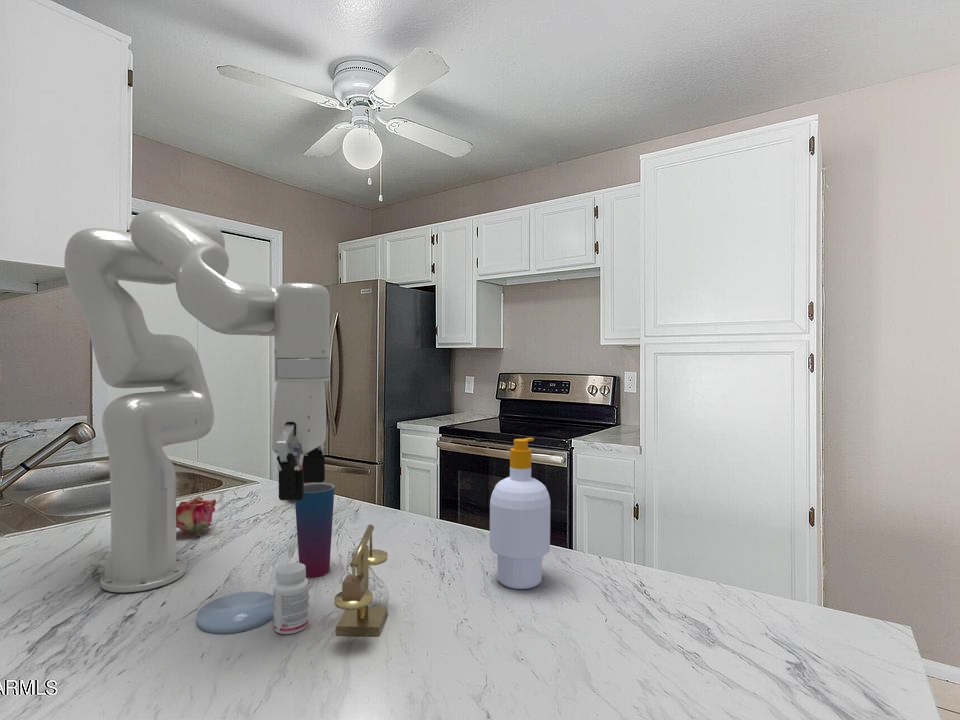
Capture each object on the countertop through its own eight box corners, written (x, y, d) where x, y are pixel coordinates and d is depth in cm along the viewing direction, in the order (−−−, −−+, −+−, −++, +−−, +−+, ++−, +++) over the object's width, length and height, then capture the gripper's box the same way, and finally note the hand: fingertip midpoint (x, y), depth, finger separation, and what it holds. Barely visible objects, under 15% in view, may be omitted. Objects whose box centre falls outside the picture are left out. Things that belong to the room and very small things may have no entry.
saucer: (181, 632, 77) (180, 625, 77) (220, 597, 88) (220, 590, 88) (259, 634, 77) (259, 627, 77) (289, 598, 88) (289, 592, 88)
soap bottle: (561, 580, 95) (563, 440, 95) (524, 600, 88) (525, 447, 87) (515, 564, 102) (516, 433, 102) (476, 581, 95) (477, 439, 94)
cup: (323, 581, 94) (323, 493, 94) (286, 577, 95) (286, 491, 95) (341, 565, 101) (341, 483, 100) (306, 562, 102) (306, 481, 102)
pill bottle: (315, 622, 80) (315, 564, 80) (291, 638, 76) (291, 577, 76) (290, 615, 82) (290, 559, 82) (265, 630, 78) (265, 570, 78)
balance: (325, 652, 72) (325, 554, 72) (355, 600, 87) (355, 518, 87) (371, 654, 72) (371, 555, 72) (393, 601, 87) (393, 519, 87)
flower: (230, 526, 117) (223, 491, 120) (188, 529, 109) (182, 492, 113) (203, 546, 120) (197, 511, 124) (161, 550, 113) (155, 513, 116)
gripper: (297, 368, 88) (297, 476, 88) (250, 373, 71) (251, 507, 71) (344, 368, 88) (344, 476, 88) (309, 374, 71) (310, 508, 71)
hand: (303, 490), depth 80 cm, fingers open, 9 cm apart
